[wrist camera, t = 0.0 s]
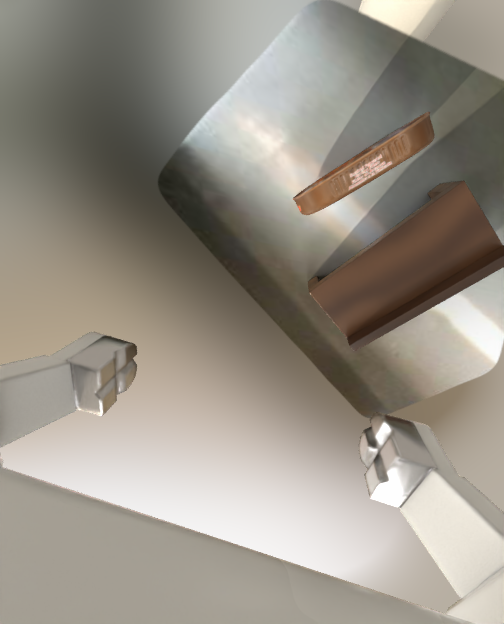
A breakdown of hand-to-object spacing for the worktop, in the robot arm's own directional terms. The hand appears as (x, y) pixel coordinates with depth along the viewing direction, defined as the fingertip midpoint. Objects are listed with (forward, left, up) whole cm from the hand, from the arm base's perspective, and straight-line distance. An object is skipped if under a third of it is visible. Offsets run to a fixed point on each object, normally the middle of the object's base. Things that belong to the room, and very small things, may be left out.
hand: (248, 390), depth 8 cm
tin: (-7, +10, -32) cm, 34 cm away
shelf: (+6, +13, -32) cm, 35 cm away
